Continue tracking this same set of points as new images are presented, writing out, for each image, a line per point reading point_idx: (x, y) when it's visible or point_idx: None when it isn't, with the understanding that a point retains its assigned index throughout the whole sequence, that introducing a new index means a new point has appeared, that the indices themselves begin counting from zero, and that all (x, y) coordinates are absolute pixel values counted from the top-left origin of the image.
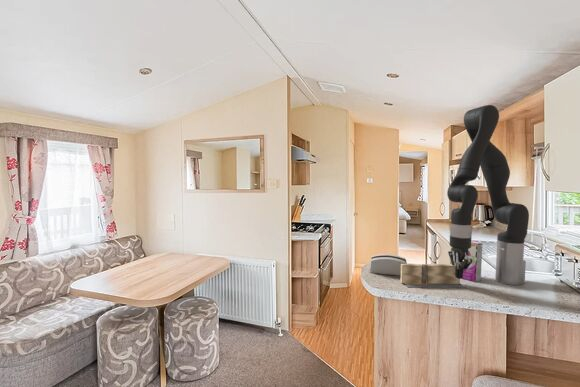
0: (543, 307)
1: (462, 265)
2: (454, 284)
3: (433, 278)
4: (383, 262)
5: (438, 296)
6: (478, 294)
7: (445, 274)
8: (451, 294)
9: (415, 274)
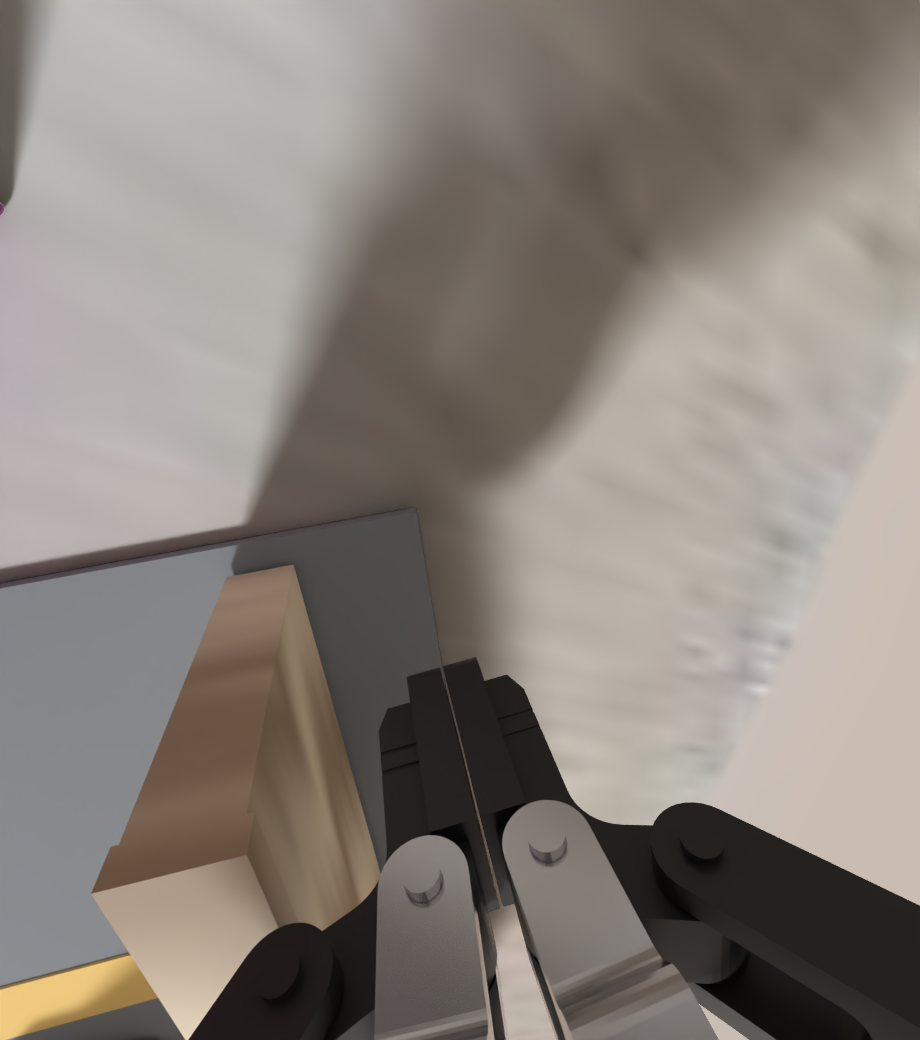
0: None
1: (864, 1038)
2: (328, 634)
3: None
4: None
5: None
6: (649, 415)
7: (341, 868)
8: (649, 709)
9: None
